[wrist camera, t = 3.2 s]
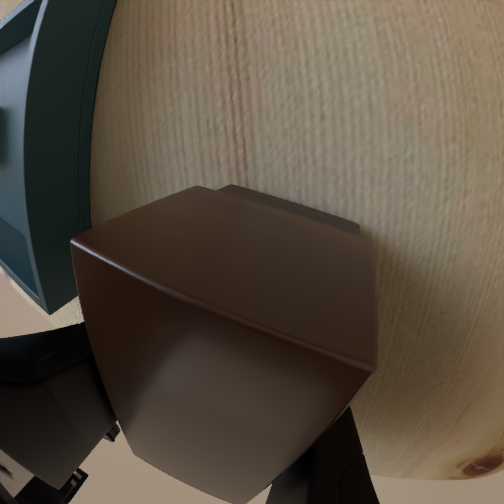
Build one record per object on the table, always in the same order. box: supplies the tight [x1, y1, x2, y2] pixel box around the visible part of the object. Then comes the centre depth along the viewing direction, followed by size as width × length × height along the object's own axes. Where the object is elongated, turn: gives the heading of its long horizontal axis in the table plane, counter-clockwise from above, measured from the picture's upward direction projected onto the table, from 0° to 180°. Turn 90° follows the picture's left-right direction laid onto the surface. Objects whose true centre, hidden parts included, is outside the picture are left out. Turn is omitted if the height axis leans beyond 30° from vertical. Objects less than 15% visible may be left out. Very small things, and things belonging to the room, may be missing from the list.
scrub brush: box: [70, 185, 378, 504], centre depth 7 cm, size 4×8×5 cm, turn 168°
